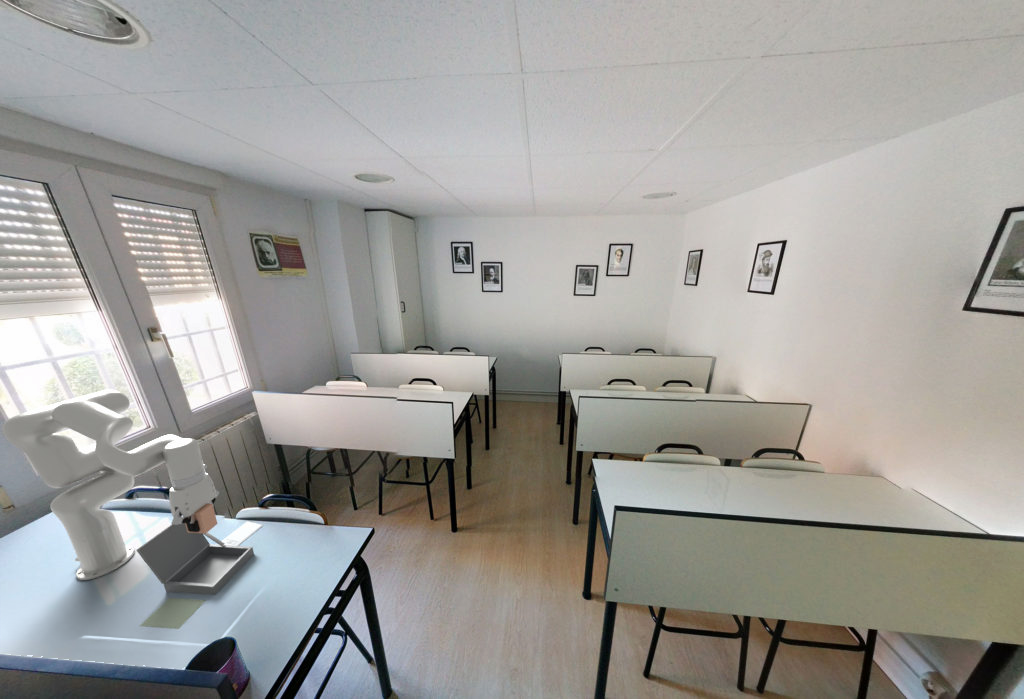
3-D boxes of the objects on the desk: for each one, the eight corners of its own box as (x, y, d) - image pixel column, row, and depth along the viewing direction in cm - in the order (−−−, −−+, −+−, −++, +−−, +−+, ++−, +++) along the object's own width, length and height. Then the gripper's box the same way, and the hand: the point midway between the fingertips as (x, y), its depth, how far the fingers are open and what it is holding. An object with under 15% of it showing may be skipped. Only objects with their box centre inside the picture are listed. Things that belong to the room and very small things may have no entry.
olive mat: (139, 627, 90) (139, 625, 90) (170, 599, 98) (169, 597, 98) (179, 630, 90) (178, 628, 90) (206, 601, 98) (206, 600, 97)
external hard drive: (263, 528, 126) (231, 554, 114) (247, 524, 127) (213, 550, 116) (263, 524, 125) (230, 551, 114) (246, 521, 127) (212, 546, 115)
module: (187, 532, 100) (181, 512, 98) (200, 522, 104) (194, 502, 102) (205, 533, 100) (200, 513, 98) (217, 523, 103) (212, 503, 101)
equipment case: (151, 591, 100) (135, 549, 96) (197, 551, 114) (186, 512, 110) (215, 596, 99) (203, 553, 95) (254, 555, 113) (245, 516, 109)
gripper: (204, 460, 105) (215, 505, 110) (145, 495, 89) (162, 546, 93) (225, 462, 105) (236, 507, 109) (170, 497, 89) (185, 548, 93)
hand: (201, 524), depth 101 cm, fingers closed on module, 4 cm apart
